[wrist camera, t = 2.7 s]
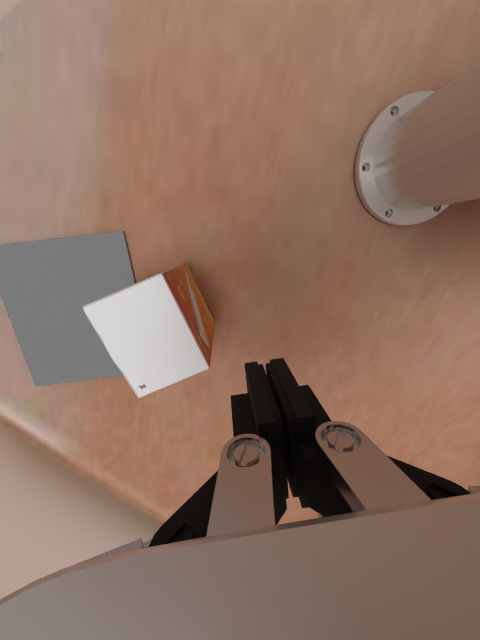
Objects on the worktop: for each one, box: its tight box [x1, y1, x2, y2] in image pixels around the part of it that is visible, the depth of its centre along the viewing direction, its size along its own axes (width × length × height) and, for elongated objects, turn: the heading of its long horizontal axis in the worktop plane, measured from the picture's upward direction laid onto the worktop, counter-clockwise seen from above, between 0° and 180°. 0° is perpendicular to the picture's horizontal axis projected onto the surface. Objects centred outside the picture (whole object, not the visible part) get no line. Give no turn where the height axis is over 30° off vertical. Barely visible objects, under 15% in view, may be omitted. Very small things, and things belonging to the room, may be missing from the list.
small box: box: [83, 262, 215, 398], centre depth 25 cm, size 8×6×13 cm
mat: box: [0, 231, 136, 386], centre depth 31 cm, size 15×17×1 cm
